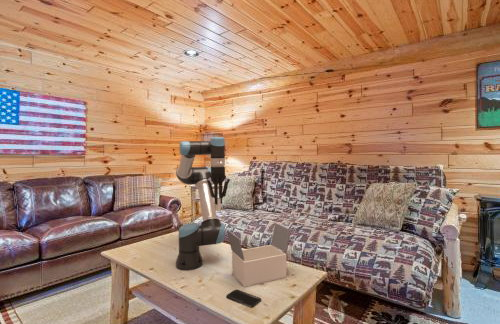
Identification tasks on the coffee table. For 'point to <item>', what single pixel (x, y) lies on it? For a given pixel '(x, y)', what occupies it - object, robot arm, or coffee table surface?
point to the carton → (259, 265)
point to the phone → (243, 298)
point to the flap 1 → (235, 245)
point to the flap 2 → (281, 237)
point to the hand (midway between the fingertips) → (218, 210)
